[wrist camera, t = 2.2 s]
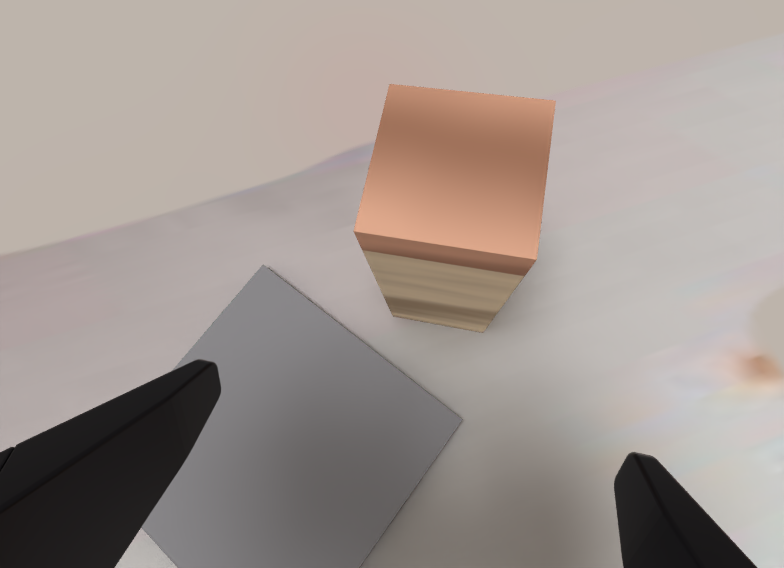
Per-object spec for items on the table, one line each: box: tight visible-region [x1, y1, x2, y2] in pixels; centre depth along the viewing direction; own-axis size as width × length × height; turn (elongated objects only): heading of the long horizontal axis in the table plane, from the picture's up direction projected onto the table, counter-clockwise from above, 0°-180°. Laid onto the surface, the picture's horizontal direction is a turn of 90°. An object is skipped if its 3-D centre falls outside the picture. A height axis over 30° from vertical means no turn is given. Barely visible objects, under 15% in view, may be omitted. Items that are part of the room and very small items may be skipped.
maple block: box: [354, 84, 556, 333], centre depth 18 cm, size 5×5×12 cm
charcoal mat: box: [141, 265, 463, 568], centre depth 21 cm, size 14×14×1 cm
